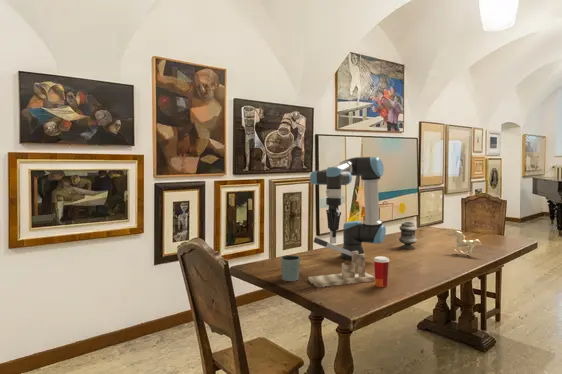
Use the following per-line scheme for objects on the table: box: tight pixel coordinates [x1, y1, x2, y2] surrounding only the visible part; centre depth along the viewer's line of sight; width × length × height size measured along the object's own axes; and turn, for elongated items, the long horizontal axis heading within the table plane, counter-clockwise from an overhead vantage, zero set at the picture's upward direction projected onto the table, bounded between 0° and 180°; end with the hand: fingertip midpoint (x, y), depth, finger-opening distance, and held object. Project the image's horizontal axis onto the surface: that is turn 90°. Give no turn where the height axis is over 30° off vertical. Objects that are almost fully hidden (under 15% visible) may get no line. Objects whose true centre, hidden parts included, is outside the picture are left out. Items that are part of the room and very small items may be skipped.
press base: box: [307, 251, 375, 288], centre depth 208 cm, size 32×12×14 cm, turn 108°
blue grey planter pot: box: [280, 254, 301, 282], centre depth 211 cm, size 10×10×12 cm
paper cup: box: [373, 256, 390, 288], centre depth 199 cm, size 8×8×14 cm
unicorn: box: [450, 227, 482, 256], centre depth 260 cm, size 20×4×17 cm, turn 45°
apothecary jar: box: [398, 221, 418, 250], centre depth 284 cm, size 12×12×18 cm
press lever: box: [313, 237, 359, 259], centre depth 207 cm, size 27×6×3 cm, turn 108°
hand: (332, 243), depth 205 cm, fingers closed
